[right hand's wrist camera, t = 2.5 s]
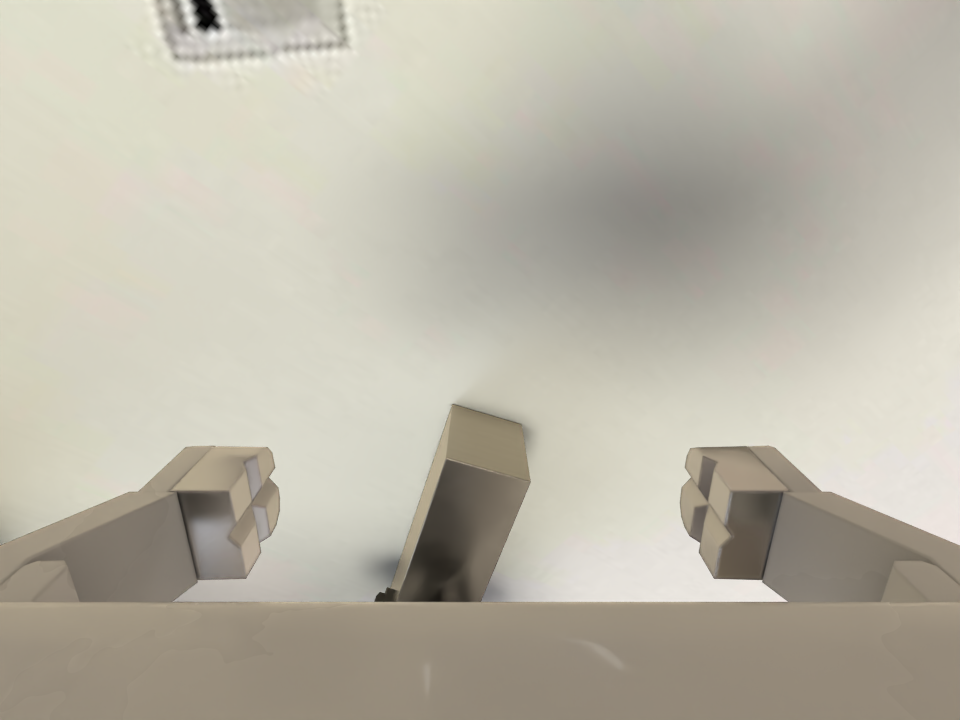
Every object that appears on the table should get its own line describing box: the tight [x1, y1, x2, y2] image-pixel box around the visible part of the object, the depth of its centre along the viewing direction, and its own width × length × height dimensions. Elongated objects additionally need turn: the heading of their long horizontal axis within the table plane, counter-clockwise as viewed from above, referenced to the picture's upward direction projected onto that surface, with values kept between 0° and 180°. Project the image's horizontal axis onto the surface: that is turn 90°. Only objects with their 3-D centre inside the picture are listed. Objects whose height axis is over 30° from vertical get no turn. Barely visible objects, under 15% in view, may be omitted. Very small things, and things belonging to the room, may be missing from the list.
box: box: [390, 404, 531, 602], centre depth 43 cm, size 21×6×9 cm, turn 162°
